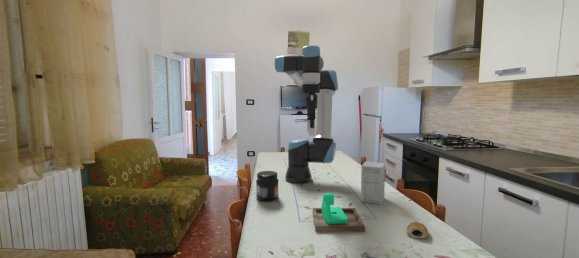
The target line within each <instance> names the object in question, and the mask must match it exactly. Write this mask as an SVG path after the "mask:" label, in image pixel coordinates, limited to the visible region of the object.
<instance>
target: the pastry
mask: <svg viewBox="0 0 579 258" xmlns="http://www.w3.org/2000/svg"><path fill="white" fill-rule="evenodd" d="M406 234H407V236H408V237H410V238H413V239H414V238H415V239H420V240H425V239H427V238H428V237H429V229H428V228H427V226H426V225H425V224H424V223H421V222H418V221H414V222H410V223H409V224H408V226H407V228H406Z"/></svg>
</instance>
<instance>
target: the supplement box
mask: <svg viewBox="0 0 579 258" xmlns="http://www.w3.org/2000/svg"><path fill="white" fill-rule="evenodd" d="M385 168H386V163H385V162H374V161H364V163H362V165H361V172H360V174H361V177H360V178H361V180H360V187H361V188H360V202H364V203H369V204H370V203H371V204H378V205H383V203H384V200H385V179H386V178H385V177H386V176H385V175H386V174H385V173H386V169H385Z"/></svg>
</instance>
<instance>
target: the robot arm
mask: <svg viewBox="0 0 579 258" xmlns="http://www.w3.org/2000/svg"><path fill="white" fill-rule="evenodd" d="M324 64H325V62H324V59H323V57H322V56H321V48H320V46H318V45H311V44H310V45H306V46H305V45H304V46H302V50H301V54H299V55H297V54H295V55H278V56H276V57H275V59H274V70H275V71H276V72H277V73H281V74H283V73H285V74H286V75H287V76H288V77H289V78H291V79H292V80H293V83H294V84H295V86H297V87H298V88H301V92H302V94H307V96H306V98H305V102H306V111H307V112H306V122H307V123H306V132H308V137H312V141H310V140H309V139H308V138H297V139H294V140H290V141H289V142H288V144H287V145H288V148H287V153H288V156H287V158H288V160H287V163H288V164H287V169H286V172H285V177H284V179H285V181H286V182H288V183H293V184H304V183H305V184H306V183H308V182H309V183H310V182H311V181H312V178H313V177H312V173H311V170H310V167H309V166H310V165H309V163H313V164H315V163H317V164H331V163H333V162H334V160H335V159H334V158H335V156H336V155H335V154H336V149H337V148H336V147H337V143H336V142H335V141H334V138H333V137H332V122H333V121H332V119H333V118H332V117H333V116H332V114H333V96H334V95H335V94H336V91H338V90H339V84H338V76H337V75H338V74H337V71H335V69H334V70H331V69H327V70H326V69H325V70H323V68H324V66H325V65H324ZM315 94H316V95H317V97H316V95H315ZM316 101H317V102H316Z"/></svg>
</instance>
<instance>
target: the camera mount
mask: <svg viewBox="0 0 579 258" xmlns="http://www.w3.org/2000/svg"><path fill="white" fill-rule="evenodd" d="M334 205H335V196H334V193H333V192H329V193H323V195H322V202H321V208H322V213H323V218H324V220H325V223H326V222H327V224H345V223H347V221H348V218H347V217H346V215H345V213H344V212H343V210H342V209H341V208H342V207H341V206H334Z"/></svg>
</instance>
